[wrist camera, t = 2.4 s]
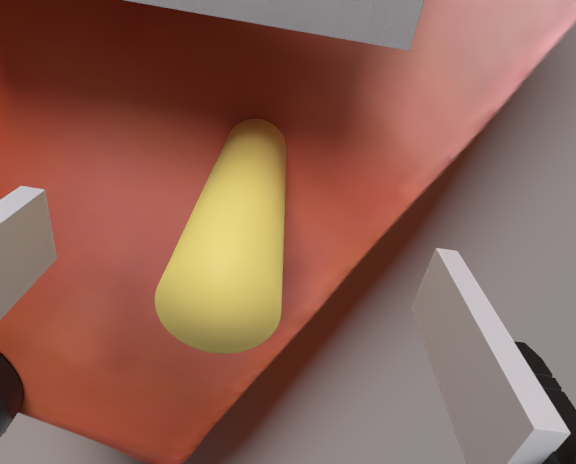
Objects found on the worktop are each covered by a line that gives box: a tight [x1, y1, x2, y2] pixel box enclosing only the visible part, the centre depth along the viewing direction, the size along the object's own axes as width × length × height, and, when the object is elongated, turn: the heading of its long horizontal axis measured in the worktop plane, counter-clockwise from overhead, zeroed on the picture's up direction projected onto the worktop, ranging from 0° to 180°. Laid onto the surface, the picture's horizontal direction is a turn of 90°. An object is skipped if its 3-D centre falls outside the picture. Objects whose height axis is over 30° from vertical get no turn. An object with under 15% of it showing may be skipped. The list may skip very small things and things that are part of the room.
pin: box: [155, 119, 287, 354], centre depth 17 cm, size 4×4×14 cm
